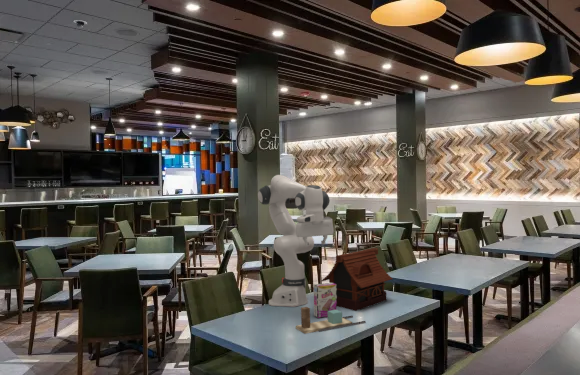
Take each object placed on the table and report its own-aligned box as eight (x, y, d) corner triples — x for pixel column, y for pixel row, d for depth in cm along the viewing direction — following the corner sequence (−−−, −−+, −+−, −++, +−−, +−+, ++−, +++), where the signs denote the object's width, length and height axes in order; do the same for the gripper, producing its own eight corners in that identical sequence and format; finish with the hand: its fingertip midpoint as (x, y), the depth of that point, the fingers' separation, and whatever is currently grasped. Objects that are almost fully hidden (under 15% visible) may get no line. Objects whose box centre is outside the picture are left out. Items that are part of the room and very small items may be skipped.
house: (360, 313, 235) (359, 257, 235) (319, 304, 255) (318, 252, 255) (397, 300, 260) (396, 250, 259) (357, 292, 280) (356, 246, 280)
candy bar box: (317, 318, 227) (317, 286, 227) (313, 316, 232) (312, 284, 232) (337, 316, 231) (336, 284, 231) (333, 313, 236) (332, 282, 236)
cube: (333, 324, 214) (333, 313, 214) (327, 321, 219) (327, 311, 219) (342, 322, 216) (341, 312, 216) (336, 319, 221) (336, 309, 221)
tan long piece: (304, 333, 205) (304, 311, 205) (295, 328, 213) (295, 306, 213) (352, 324, 217) (352, 303, 217) (342, 319, 225) (341, 299, 225)
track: (319, 331, 207) (319, 330, 207) (307, 325, 217) (307, 323, 217) (365, 322, 219) (365, 321, 219) (352, 317, 229) (352, 315, 229)
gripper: (329, 216, 234) (329, 242, 234) (293, 218, 225) (294, 246, 225) (335, 216, 229) (336, 244, 229) (299, 219, 219) (300, 247, 219)
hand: (315, 245), depth 227 cm, fingers open, 8 cm apart
